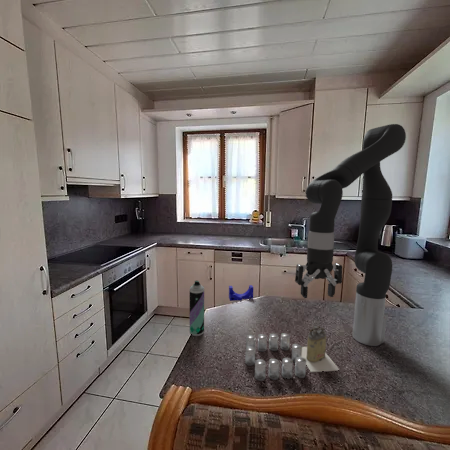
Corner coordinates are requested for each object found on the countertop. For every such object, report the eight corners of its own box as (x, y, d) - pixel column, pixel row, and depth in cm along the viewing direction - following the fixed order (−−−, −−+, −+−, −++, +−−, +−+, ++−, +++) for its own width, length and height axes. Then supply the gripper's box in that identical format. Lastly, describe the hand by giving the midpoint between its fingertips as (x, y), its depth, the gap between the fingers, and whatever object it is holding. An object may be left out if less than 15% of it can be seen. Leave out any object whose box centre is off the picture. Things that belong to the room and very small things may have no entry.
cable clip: (229, 300, 125) (230, 289, 124) (228, 297, 129) (228, 285, 128) (253, 300, 126) (254, 288, 125) (251, 296, 130) (252, 285, 130)
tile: (320, 346, 88) (320, 345, 88) (339, 370, 76) (339, 369, 76) (295, 348, 87) (295, 347, 87) (310, 372, 75) (310, 371, 75)
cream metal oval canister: (318, 350, 85) (320, 322, 84) (328, 357, 82) (330, 327, 80) (303, 357, 81) (305, 328, 80) (313, 364, 78) (315, 334, 77)
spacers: (291, 344, 89) (292, 332, 88) (312, 377, 73) (313, 363, 72) (240, 347, 87) (241, 335, 86) (250, 381, 71) (251, 366, 70)
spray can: (186, 331, 96) (186, 281, 93) (198, 326, 100) (198, 277, 97) (195, 337, 92) (195, 284, 89) (207, 332, 96) (207, 281, 93)
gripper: (335, 243, 82) (332, 291, 84) (293, 243, 80) (291, 292, 82) (349, 248, 75) (345, 300, 76) (303, 249, 73) (300, 302, 75)
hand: (317, 296), depth 79 cm, fingers open, 8 cm apart
